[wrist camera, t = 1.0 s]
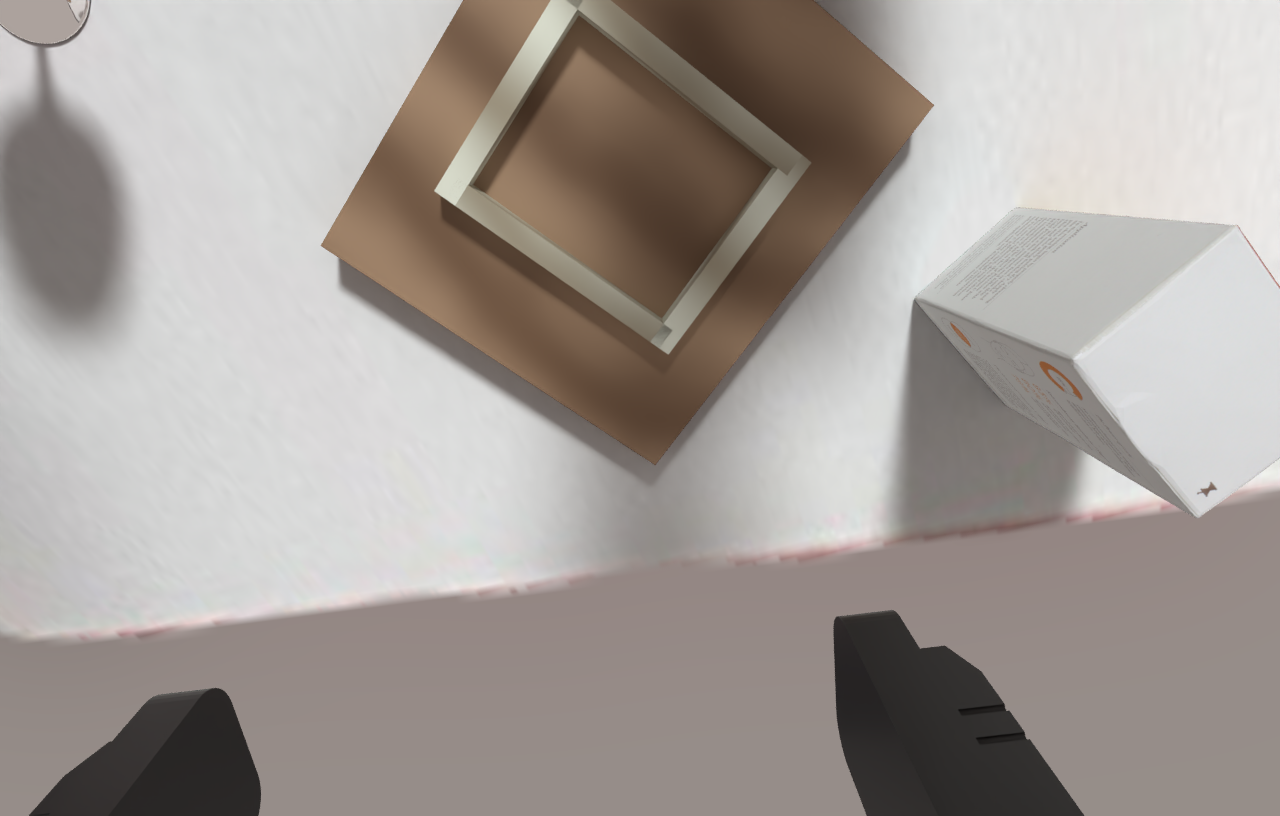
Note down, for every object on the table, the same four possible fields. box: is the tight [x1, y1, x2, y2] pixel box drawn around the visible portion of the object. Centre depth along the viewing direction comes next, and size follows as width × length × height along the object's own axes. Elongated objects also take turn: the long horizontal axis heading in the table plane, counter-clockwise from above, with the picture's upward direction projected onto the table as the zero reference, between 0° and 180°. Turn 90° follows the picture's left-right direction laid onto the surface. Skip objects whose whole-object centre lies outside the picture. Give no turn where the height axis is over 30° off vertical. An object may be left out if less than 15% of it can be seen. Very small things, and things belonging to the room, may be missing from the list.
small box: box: [915, 207, 1280, 518], centre depth 30 cm, size 8×6×13 cm
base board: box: [321, 0, 934, 465], centre depth 32 cm, size 20×18×3 cm
